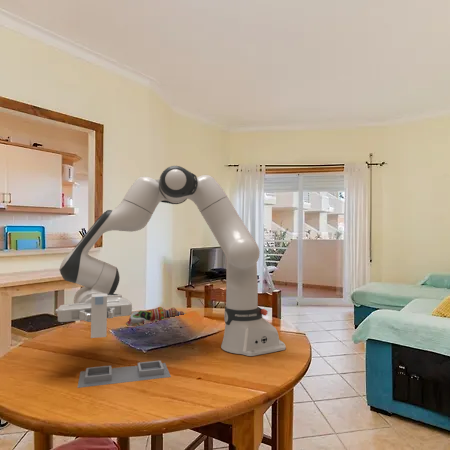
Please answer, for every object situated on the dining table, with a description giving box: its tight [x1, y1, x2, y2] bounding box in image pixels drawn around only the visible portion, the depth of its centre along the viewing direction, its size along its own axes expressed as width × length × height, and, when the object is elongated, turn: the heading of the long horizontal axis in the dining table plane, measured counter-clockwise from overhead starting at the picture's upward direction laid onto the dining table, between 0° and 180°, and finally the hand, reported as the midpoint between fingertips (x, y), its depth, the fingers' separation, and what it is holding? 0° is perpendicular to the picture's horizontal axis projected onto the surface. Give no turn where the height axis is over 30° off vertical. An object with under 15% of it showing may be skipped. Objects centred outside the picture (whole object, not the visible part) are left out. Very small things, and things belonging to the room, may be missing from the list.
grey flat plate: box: [77, 360, 172, 389], centre depth 102 cm, size 24×11×2 cm, turn 108°
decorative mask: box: [125, 306, 186, 326], centre depth 160 cm, size 24×8×30 cm
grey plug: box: [90, 294, 108, 339], centre depth 100 cm, size 4×5×11 cm
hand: (99, 316), depth 99 cm, fingers closed on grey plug, 4 cm apart
